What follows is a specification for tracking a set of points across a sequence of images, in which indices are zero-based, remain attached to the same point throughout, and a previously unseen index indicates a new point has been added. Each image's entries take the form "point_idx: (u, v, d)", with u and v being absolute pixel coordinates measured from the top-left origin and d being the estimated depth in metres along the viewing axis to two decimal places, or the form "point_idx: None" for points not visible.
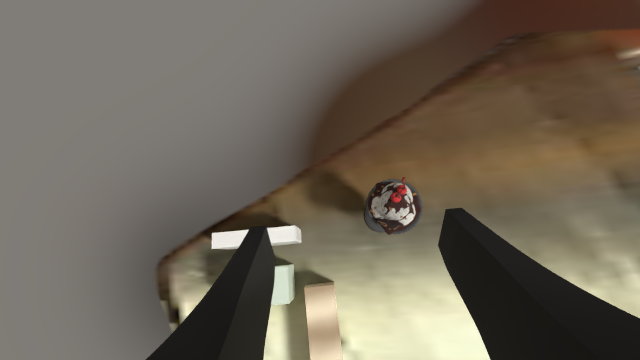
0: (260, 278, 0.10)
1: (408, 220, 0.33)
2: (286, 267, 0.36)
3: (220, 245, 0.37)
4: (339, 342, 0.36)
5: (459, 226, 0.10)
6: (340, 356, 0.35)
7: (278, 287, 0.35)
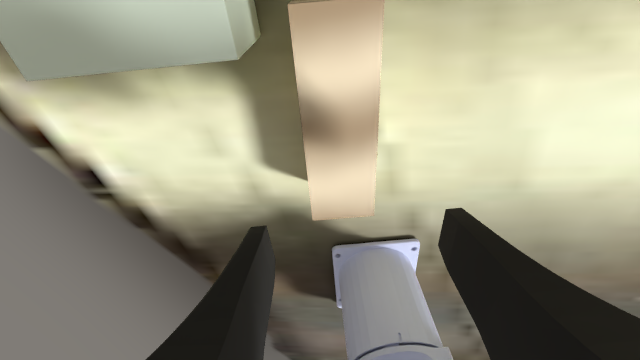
0: (260, 278, 0.10)
1: None
2: None
3: None
4: (374, 146, 0.15)
5: (459, 226, 0.10)
6: (372, 170, 0.16)
7: (187, 0, 0.10)
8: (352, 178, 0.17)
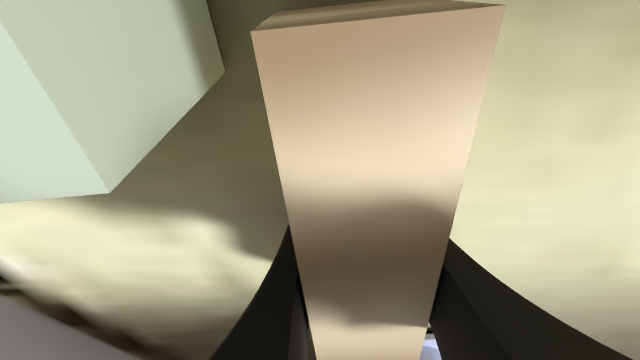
0: None
1: None
2: None
3: None
4: (433, 280, 0.08)
5: None
6: (424, 311, 0.09)
7: None
8: (388, 321, 0.09)
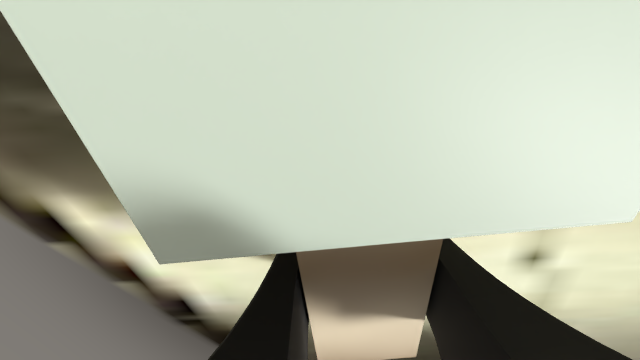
0: None
1: None
2: None
3: None
4: (428, 279, 0.09)
5: None
6: (420, 309, 0.10)
7: (618, 118, 0.04)
8: (385, 318, 0.10)
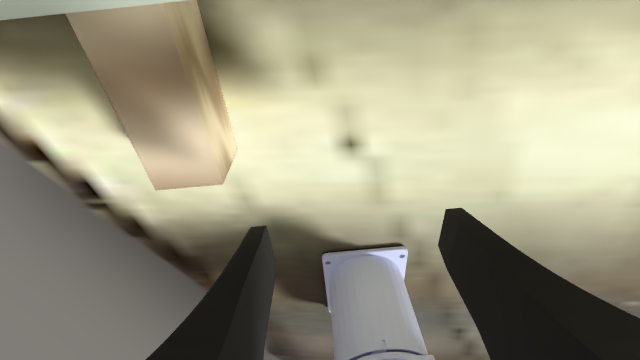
0: (260, 278, 0.10)
1: None
2: None
3: None
4: (191, 99, 0.14)
5: (459, 226, 0.10)
6: (200, 129, 0.15)
7: None
8: (180, 138, 0.15)
